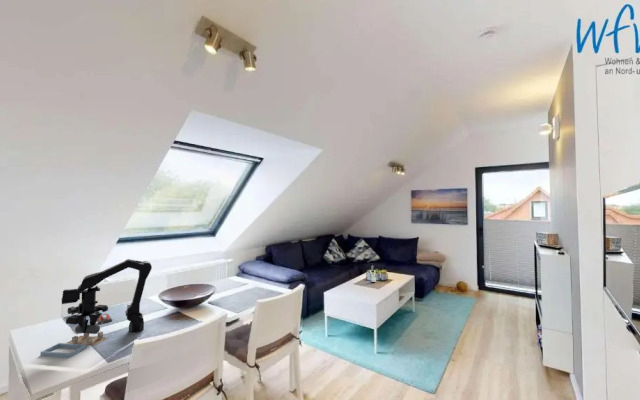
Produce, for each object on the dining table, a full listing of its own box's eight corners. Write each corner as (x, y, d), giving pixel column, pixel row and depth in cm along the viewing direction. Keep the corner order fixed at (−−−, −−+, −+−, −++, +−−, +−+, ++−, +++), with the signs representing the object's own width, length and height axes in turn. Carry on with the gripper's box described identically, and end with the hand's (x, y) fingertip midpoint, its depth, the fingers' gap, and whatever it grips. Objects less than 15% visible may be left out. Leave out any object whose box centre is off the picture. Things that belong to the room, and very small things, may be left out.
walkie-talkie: (90, 321, 173) (95, 332, 159) (90, 314, 173) (96, 324, 159) (108, 317, 179) (114, 327, 165) (108, 310, 179) (115, 320, 165)
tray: (86, 350, 139) (86, 345, 139) (68, 360, 130) (69, 354, 130) (59, 348, 140) (59, 342, 140) (40, 358, 132) (40, 352, 132)
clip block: (108, 340, 150) (108, 332, 150) (95, 347, 142) (95, 339, 142) (80, 337, 152) (81, 330, 152) (66, 345, 144) (66, 337, 144)
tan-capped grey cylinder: (99, 331, 148) (100, 324, 148) (93, 335, 144) (93, 327, 144) (80, 330, 149) (80, 322, 149) (73, 333, 145) (73, 326, 145)
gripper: (90, 293, 157) (89, 322, 157) (56, 305, 138) (55, 338, 138) (109, 294, 156) (108, 323, 156) (77, 307, 137) (76, 339, 137)
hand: (87, 330), depth 147 cm, fingers closed on tan-capped grey cylinder, 4 cm apart
